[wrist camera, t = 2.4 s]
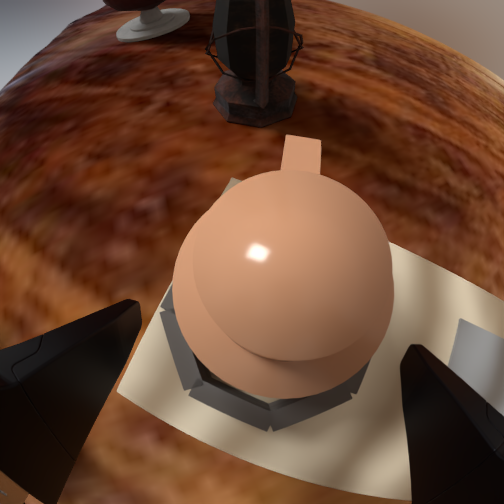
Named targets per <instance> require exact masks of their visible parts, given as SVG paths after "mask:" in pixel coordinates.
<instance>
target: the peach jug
mask: <svg viewBox="0 0 504 504" xmlns="http://www.w3.org/2000/svg"><path fill="white" fill-rule="evenodd" d="M320 162H321V140H317V139H311V138H305V137H299V136H293V135H286V139H285V145H284V152H283V158H282V164H281V170H280V171H271V172H267V173H263V174H259V175H256V176H253V177H250V178H248V179H246V180H244V181H242V182H240V183H238V184H237V185H235V186H234V187H232V188H231V189H229V190H228V191H227V192H225V193H224V194H223V195H222V196H221V197H220V198H219V199H218V200H217V201H216V202H215V203H214V204H213V205H212V207H211V208H210V209H209V210H208V211H207V212H206V213H205V214H204V215H203V216H202V217H201V218H200V219H199V220H198V221H197V222H196V224H195V225H194V226H193V228H192V229H191V231H190V232H189V233H188V235H187V236H186V238H185V240H184V242H183V244H182V246H181V248H180V251H179V254H178V257H177V260H176V264H175V269H174V274H173V286H172V293H173V305H174V310H175V314H176V318H177V321H178V324H179V327H180V329H181V332H182V334H183V336H184V338H185V340H186V342H187V343H188V345H189V347H190V348H191V350H192V351H193V352H194V354H195V355H196V356H197V358H198V359H199V360H200V361H201V362H202V363H203V364H204V365H205V366H206V367H207V368H208V369H209V370H210V371H211V372H212V373H214V374H215V375H216V376H218V377H219V378H220V379H222V380H223V381H225V382H227V383H228V384H230V385H232V386H234V387H236V388H238V389H240V390H243V391H246V392H248V393H251V394H254V395H259V396H263V397H268V398H281V399H289V398H302V397H306V396H311V395H316V394H319V393H322V392H324V391H327V390H330V389H332V388H334V387H336V386H338V385H339V384H341V383H343V382H345V381H346V380H348V379H349V378H350V377H352V376H353V375H354V374H356V373H357V372H358V371H359V370H360V369H361V368H362V367H363V366H364V365H365V364H366V363H367V362H368V361H369V360H370V359H371V357H372V356H373V355H374V353H375V352H376V351H377V349H378V347H379V346H380V344H381V342H382V340H383V339H384V337H385V334H386V332H387V329H388V326H389V324H390V320H391V316H392V311H393V304H394V280H393V274H392V270H393V269H392V256H391V250H390V245H389V242H388V239H387V236H386V234H385V231H384V229H383V227H382V225H381V223H380V221H379V220H378V218H377V217H376V215H375V214H374V212H373V211H372V210H371V209H370V207H369V206H368V205H367V204H366V203H365V202H364V201H363V200H362V199H361V198H360V197H359V196H358V195H357V194H355V193H354V192H353V191H351V190H350V189H349V188H347V187H346V186H344V185H342V184H341V183H339V182H337V181H335V180H332V179H330V178H328V177H325V176H322V175H320Z"/></svg>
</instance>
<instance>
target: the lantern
mask: <svg viewBox="0 0 504 504" xmlns="http://www.w3.org/2000/svg"><path fill="white" fill-rule="evenodd" d="M294 26H295V19H294V13H293V8H292V3H291V0H216V7H215V13H214V20H213V29H212V33H211V37H210V41H209V44H208V45H207V47H206V48H205V50H206V51H207V52H206V53H205V54H207V55H210V56H211V58H212V59H213V60H214V62H215V63H216V65H217V66H218V68H219V69H220V71H221V72H222V74H223V75H222V77H221V78H220V80H219V81H218V83H217V84H216V86H215V94H216V99H215V100H214V102H213V105H214V106H215V107H216V108H217V109H218V111H219V112H220V113H221V114H222V116H223V117H224V118H225V119H226V121H227V122H232V123H238V124H244V125H250V126H256V127H264V126H267V125H269V124H272V123H275V122H278V121H280V120H283V119H286V118H289V117H291V115H292V112H293V109H294V106H295V103H296V100H297V95H296V94H295V92H294V90H295V81H294V80H293V79H292V78H291V77H290V76H288V75H287V74H286V73H285V72H287V71H289V70H291V68H292V65H293V63H294V61H295V58H296V56H297V54H298V51H299V50H300V49H303V47H302V44H303V38H302V35H301V34H298V33H296V32H295V30H294ZM213 35H214V37H215V38H214V39H213ZM293 35H294V36H295V38H296V40H297V42H298V44H299V46H298V48H297V49H296V50H293V51H292V43H293ZM297 36H300V41H299V39H298V37H297ZM214 41H215V44H216V50H217V56H215V55H212V54H211V52H210V51H209V50H210V47H211V44H212V43H213V42H214ZM300 42H301V43H300ZM300 47H301V48H300ZM207 48H208V49H207ZM295 51H296V53H295V55H294V58H293V60H292V63H291V65H290V68H289V69H287V70H285V71H282V69H283V68H285V67H286V65H287V62H288V60H289V58H290V56H291V53H292V52H295ZM208 53H209V54H208ZM214 57H216V58H218V59H219V60H220V61H221V62H222V63H223V64H225V65H226V66H227V67H228V68H229V69H230V70H228V71H225V72H224V71H223V70H222V68H221V67H220V65H219V64H218V63H217V61H216V60H215V58H214Z"/></svg>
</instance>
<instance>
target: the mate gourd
mask: <svg viewBox="0 0 504 504" xmlns="http://www.w3.org/2000/svg"><path fill="white" fill-rule="evenodd" d="M164 1H165V0H103V2H104V3H105V4H106V5H108V6H110V7H112V8H114V9H116V10H118V11H141V15H140V16H139V17H137V18H135V19H133V20H131V21H129V22H127V23H126V24H124V25H123V26H122V27H121V28H120V29H119V30H118V31H117V33H116V35H117V38H118V40H119V41H122V42H136V41H142V40H146V39H150V38H154V37H157V36H160V35H163V34H166V33H168V32H171V31H173V30H175V29H177V28H179V27H181V26H183V25H184V24H185V23H187V22H188V20H189V19H190V14H189V12H188V11H187V10H184V9H175V8H174V9H164V10H159V8H158V7H157V6H158V5H159V4H160V3H162V2H164Z"/></svg>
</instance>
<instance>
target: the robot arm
mask: <svg viewBox="0 0 504 504" xmlns="http://www.w3.org/2000/svg"><path fill="white" fill-rule="evenodd" d="M141 325H142V318H141V310H140V304H139V302H138V301H135V300H131V299H126V300H123V301H121V302H118V303H116V304H114V305H111V306H109V307H107V308H104V309H102V310H99V311H97V312H95V313H92V314H90V315H87V316H85V317H83V318H80V319H78V320H75V321H73V322H71V323H68V324H66V325H63V326H61V327H59V328H56V329H54V330H52V331H49V332H47V333H44V335H40V336H37V337H35V338H32V339H30V340H27V341H25V342H22V343H20V344H17V345H14V346H11V347H8V348H5V349H2V350H0V504H25V502H24V501H25V500H26V498H27V496H28V494H30V495H32V496H33V497H35V498H36V499H38V500H39V501H40V502H42V503H43V504H57V502H58V499H59V497H60V495H61V492H62V490H63V488H64V486H65V483H66V481H67V479H68V477H69V475H70V472H71V470H72V468H73V466H74V464H75V461H76V459H77V457H78V455H79V453H80V451H81V449H82V447H83V445H84V443H85V441H86V439H87V437H88V435H89V433H90V431H91V429H92V427H93V425H94V423H95V421H96V419H97V417H98V415H99V413H100V411H101V409H102V407H103V405H104V403H105V401H106V399H107V398H108V396H109V394H110V392H111V390H112V388H113V386H114V384H115V383H116V381H117V379H118V377H119V375H120V373H121V372H122V370H123V368H124V366H125V364H126V362H127V360H128V357H129V355H130V353H131V350H132V348H133V345H134V343H135V340H136V338H137V336H138V333H139V331H140V329H141ZM400 379H401V394H402V407H403V415H404V422H405V429H406V437H407V445H408V455H409V466H410V479H411V498H412V504H504V416H503V415H502V414H501V413H500V412H498V411H497V410H496V409H495V408H494V407H493V406H492V405H491V404H490V403H488V402H486V400H485V399H484V398H483V397H482V396H481V395H480V394H478V393H477V392H476V391H475V390H474V389H473V388H472V387H471V386H469V385H468V384H467V383H466V382H465V381H464V380H463V379H462V378H460V377H459V376H458V375H457V374H456V373H455V372H454V371H452V370H451V369H450V368H449V367H448V366H447V365H445V364H444V363H443V362H442V361H441V360H440V359H438V358H437V357H436V356H435V355H434V354H433V353H431V352H430V351H429V350H428V349H427V348H426V347H424V346H423V345H422V344H411V345H410V346H409V347H408V349H407V351H406V353H405V355H404V357H403V358H402V360H401V363H400Z"/></svg>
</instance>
